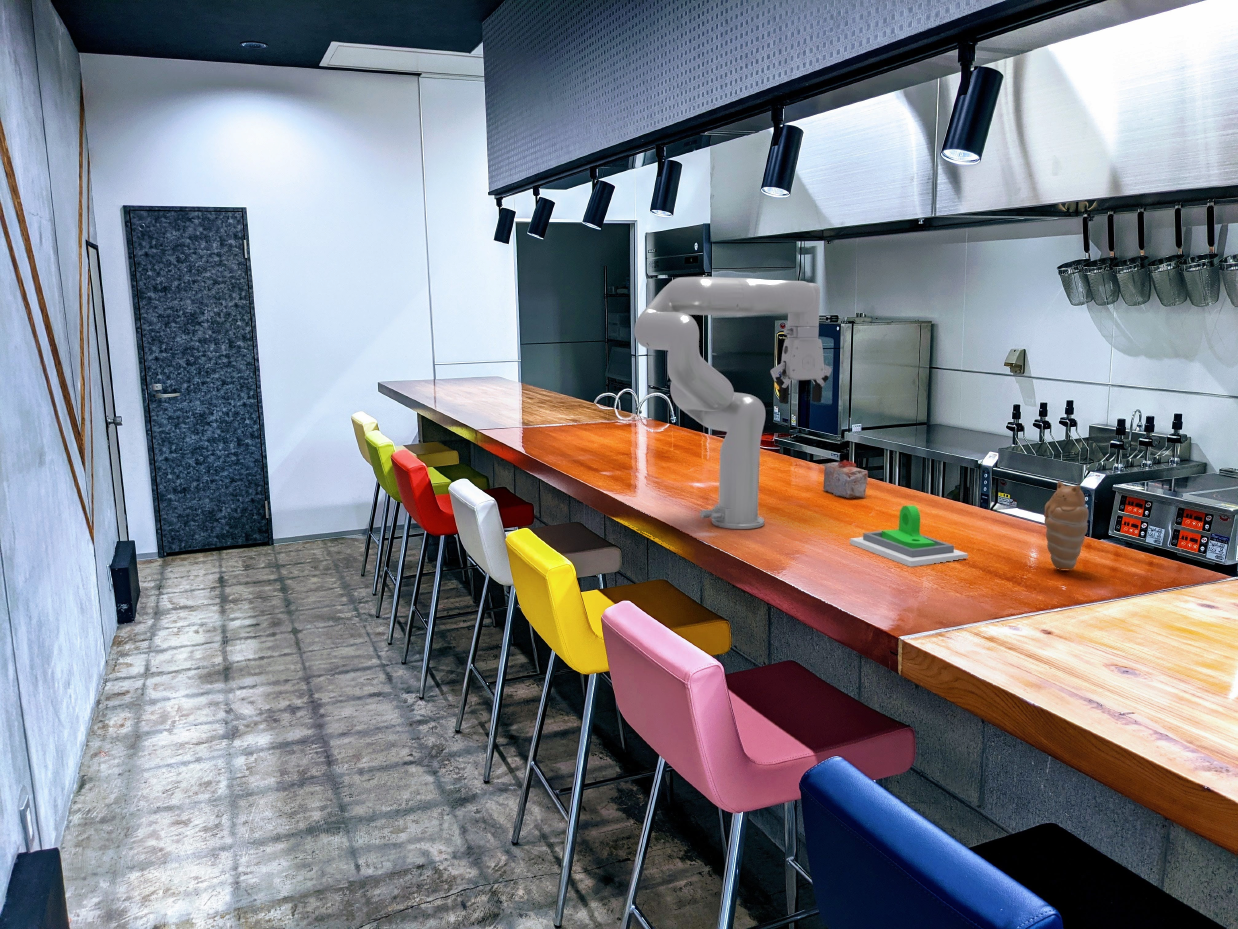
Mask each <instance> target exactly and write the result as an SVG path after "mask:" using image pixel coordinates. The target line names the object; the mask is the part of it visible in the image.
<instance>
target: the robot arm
mask: <svg viewBox="0 0 1238 929" xmlns="http://www.w3.org/2000/svg"><path fill="white" fill-rule="evenodd" d="M820 301H821V288H820V286H819V284H817V283H815V282H807V281H806V280H805V281H804V280H776V279H775V280H774V279H762V278H761V279H760V278H749V277H722V276H690V277H687V276H686V277H676V278H674V279H673V280H671V281H670V282H669V283H668V284H667V285H666V286H664V287H663V288H662V289H661V290H660V291H659V292H658V294H657V295H656V296H655V297H654V298H653V300H651V302H650V303H649V304H648V305H647V306H646V308H644V309H643V311H642V312H641V313H640V314H639V316H638V317H637V319H636V322H635V324H634V329H633V330H634V331H633V332H634V337H635V340H636V341H637V343H638V344H639V345H640V346H641V347H643V348H645V349H648V350H656V351H657V350H661V351H668V352H667V373H668V376H669V377H668V378H669V379H670V381H671V382H670V390H669V391H670V395H671V398H672V401H673V402H674V404H675V405H676V406H677V407H678V408H679V409H680V410H681V411H683V412H684V413H685V414H687V415H688V416H689V417H690V418H692V419H694V420H695V421H696V422H698V423H699V424H701V425H702V426H703V427H705V428H708V429H710V430H714V431H721V432H726V434H725V437H724V439H723V441H722V442H721V446H720V450H719V473H718V474H719V479H718V483H719V484H718V504H714V507H713V508H712V509H702V510H700V511H699V514H700V518H701V519H708V518H710V519H711V524H713V525H714V526H716V527H719V528H724V529H730V530H751V529H757V528H761V527H763V526H764V525H765V519H764V518H763V517H761V516H759V490H760V487H759V485H760V462H761V461H760V459H761V457H760V456H761V455H760V454H761V441H762V434H763V431H764V426H765V421H766V408H765V405H764V403H763V402H762V400H761V399H759V398H758V397H756V396H754V395H752V394H748V393H743V392H736V391H734V387H733V385H732V383H731V382H730V380H729V379H728V378H727V377H726V376H724V375H723V374H722V373H721V372H719V371H718V370H717V369H716V368H714V367H713V366H712V365H710V364H709V363H708V362H707V361H706V360H705V359H704V358H703V357H702V355H701V354H700V347H699V346H700V342H699V341H700V329H699V326H698V324H697V321H696V320H695V319H694V318H693V317H692V315H693V316H694V315H695V316H698V315H699V316H752V315H754V316H755V315H765V314H788V315H787V328H785V329H784V330H783V334H784V335H785V336H786V337H787V338H786V339H784V342H783V347H782V354H781V361H780V364H777V365H776V366H774V367H773V368H772V369H770V374H771V376H772V378H773V379H772V380H773V382H774V383H775V384H776V387H777V388H778V400H779V401H778V402H779V404H784V405H788V404H789V402H790V401H789V400H790V399H789V398H790V393H789V392H790V388H789V387H788V386H789V384H790V382H791V381H792V380H794V381H809V380H810V381H812V382H813V384H814V385H812V387H811V388H812V390H811V392H812V393H811V401H812V402H814V403H822V398H823V387H825V386H826V385H825V384H826V382H827V381H829V378H830V375H831V373H832V370H833V369H832V367H830V366H828V365H826V364H825V362H824V350H823V343H822V339H819V331H820V330H819V328H820V327H819V325H820V324H819V323H820V304H821V302H820ZM779 373H780V374H779ZM780 376H781V377H780Z"/></svg>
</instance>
